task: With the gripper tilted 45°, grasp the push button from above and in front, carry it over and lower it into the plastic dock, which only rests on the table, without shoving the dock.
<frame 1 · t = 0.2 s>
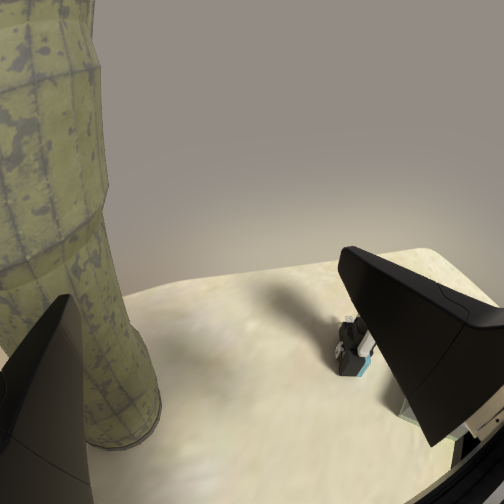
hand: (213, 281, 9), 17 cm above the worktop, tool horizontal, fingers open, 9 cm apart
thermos: (112, 405, 20), on the worktop
dock: (471, 383, 23), on the worktop
push button: (348, 352, 27), on the worktop
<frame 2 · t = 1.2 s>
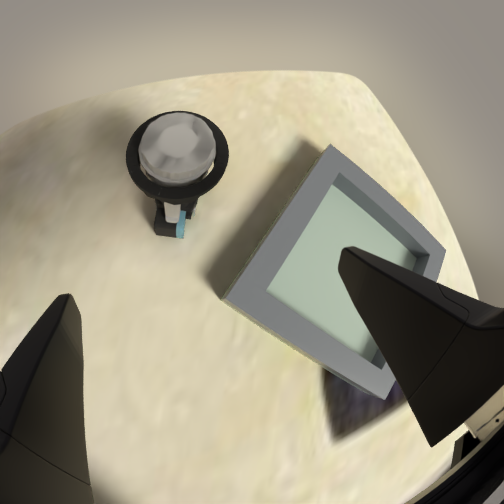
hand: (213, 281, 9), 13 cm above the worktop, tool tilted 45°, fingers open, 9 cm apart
dock: (345, 275, 26), on the worktop
push button: (177, 202, 23), on the worktop
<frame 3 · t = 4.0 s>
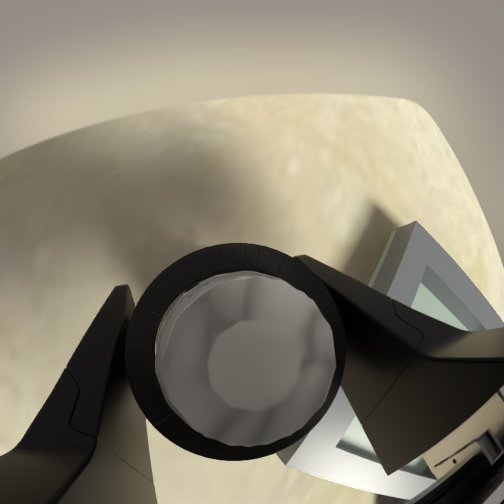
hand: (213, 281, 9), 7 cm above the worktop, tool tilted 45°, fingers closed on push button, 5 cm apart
dock: (413, 383, 18), on the worktop
push button: (205, 320, 15), on the worktop, touching gripper
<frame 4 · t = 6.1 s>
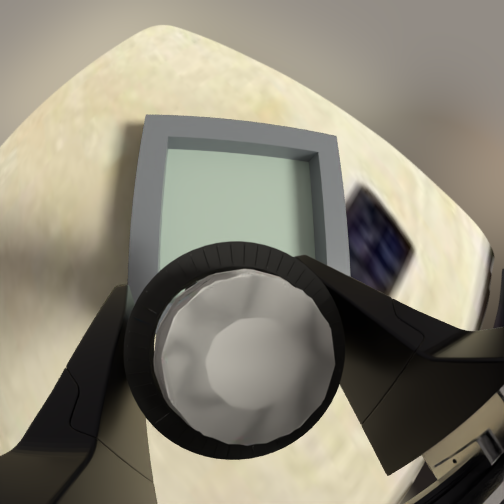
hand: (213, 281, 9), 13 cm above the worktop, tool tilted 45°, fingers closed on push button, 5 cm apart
dock: (238, 227, 24), on the worktop
push button: (204, 319, 15), point 6 cm above the worktop, touching gripper
when the fingers open (9 cm above the worktop, at t = 8.6 s): push button drops 2 cm, resting on dock.
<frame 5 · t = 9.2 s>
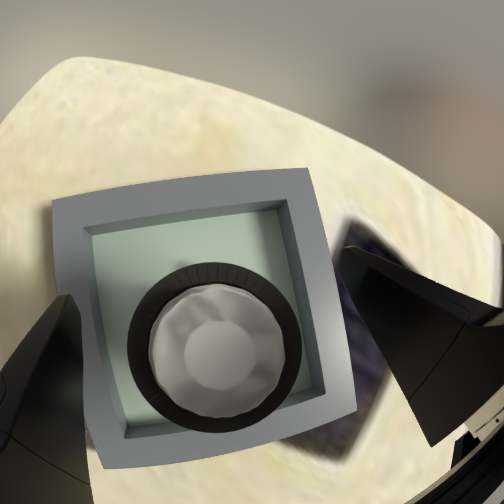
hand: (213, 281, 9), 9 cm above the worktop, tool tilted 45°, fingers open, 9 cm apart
dock: (200, 318, 18), on the worktop, touching push button
push button: (202, 322, 17), resting on dock
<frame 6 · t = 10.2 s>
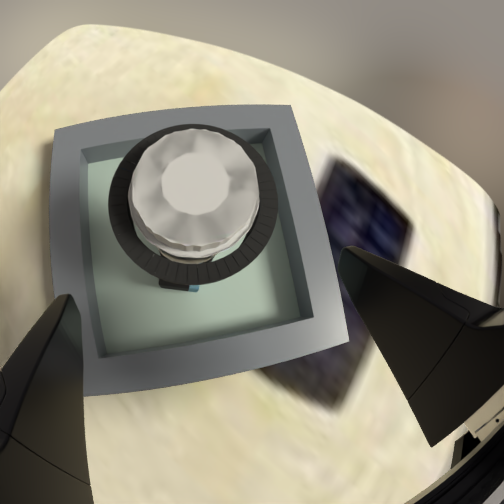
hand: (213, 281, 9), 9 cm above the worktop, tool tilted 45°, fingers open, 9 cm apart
dock: (186, 241, 19), on the worktop, touching push button
push button: (188, 241, 18), resting on dock
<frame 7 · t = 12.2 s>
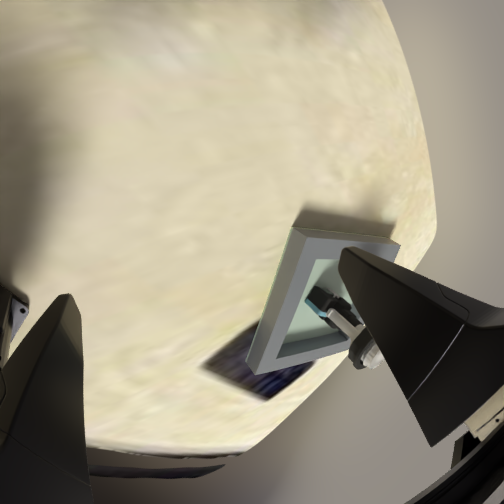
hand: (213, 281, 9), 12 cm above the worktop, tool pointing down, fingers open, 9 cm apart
dock: (318, 293, 34), on the worktop, touching push button
push button: (322, 298, 33), resting on dock
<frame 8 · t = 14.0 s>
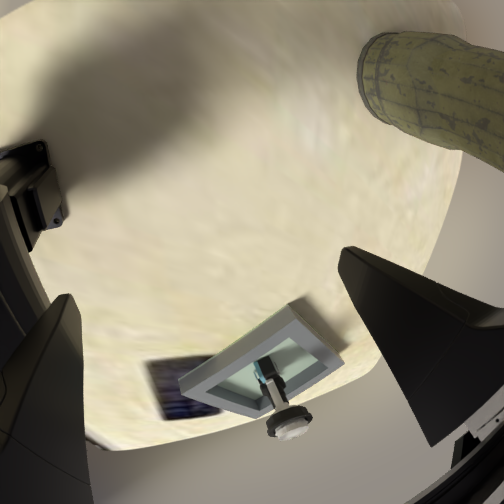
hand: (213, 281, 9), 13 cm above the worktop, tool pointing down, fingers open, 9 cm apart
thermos: (393, 77, 20), on the worktop
dock: (264, 362, 37), on the worktop, touching push button
push button: (265, 367, 37), resting on dock
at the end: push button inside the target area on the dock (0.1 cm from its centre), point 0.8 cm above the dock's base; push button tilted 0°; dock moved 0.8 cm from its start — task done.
